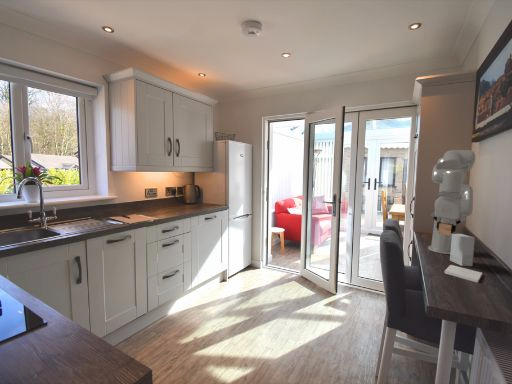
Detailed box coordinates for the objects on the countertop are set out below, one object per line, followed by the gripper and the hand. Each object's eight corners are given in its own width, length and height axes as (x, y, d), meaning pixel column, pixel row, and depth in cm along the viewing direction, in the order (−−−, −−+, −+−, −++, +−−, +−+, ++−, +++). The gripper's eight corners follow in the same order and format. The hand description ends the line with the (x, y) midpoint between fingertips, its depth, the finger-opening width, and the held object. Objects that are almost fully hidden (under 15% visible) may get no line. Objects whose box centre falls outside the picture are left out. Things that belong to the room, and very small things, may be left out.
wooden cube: (440, 231, 136) (441, 222, 135) (452, 233, 132) (453, 224, 131) (438, 233, 132) (439, 223, 132) (450, 235, 129) (451, 225, 128)
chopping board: (450, 267, 130) (450, 264, 130) (481, 275, 121) (482, 272, 121) (444, 273, 122) (444, 270, 122) (477, 282, 113) (478, 279, 113)
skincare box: (472, 266, 132) (476, 237, 130) (460, 266, 132) (465, 237, 130) (459, 260, 140) (462, 233, 139) (448, 260, 140) (451, 232, 138)
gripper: (428, 193, 133) (423, 228, 135) (470, 198, 121) (465, 236, 123) (432, 193, 138) (428, 226, 140) (473, 197, 126) (468, 234, 128)
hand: (445, 231), depth 132 cm, fingers closed on wooden cube, 5 cm apart
